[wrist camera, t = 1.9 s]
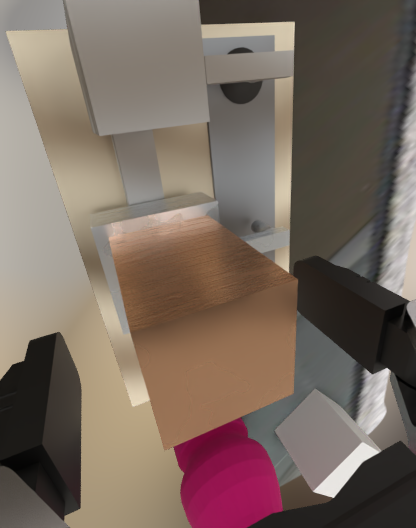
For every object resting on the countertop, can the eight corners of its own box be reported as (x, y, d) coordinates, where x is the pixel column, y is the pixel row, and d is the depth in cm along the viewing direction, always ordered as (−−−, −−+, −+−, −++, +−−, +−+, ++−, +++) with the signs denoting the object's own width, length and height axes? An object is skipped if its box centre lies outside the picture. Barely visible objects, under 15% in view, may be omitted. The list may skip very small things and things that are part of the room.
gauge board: (13, 41, 12) (-71, -62, 5) (276, 30, 15) (420, -41, 9) (129, 389, 21) (150, 505, 14) (276, 335, 24) (345, 410, 18)
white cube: (273, 429, 30) (312, 491, 25) (314, 387, 29) (362, 441, 24) (302, 442, 33) (342, 500, 28) (339, 404, 33) (386, 456, 28)
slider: (89, 212, 13) (97, 320, 6) (263, 177, 15) (424, 223, 8) (118, 307, 15) (150, 469, 8) (265, 264, 17) (391, 360, 10)
